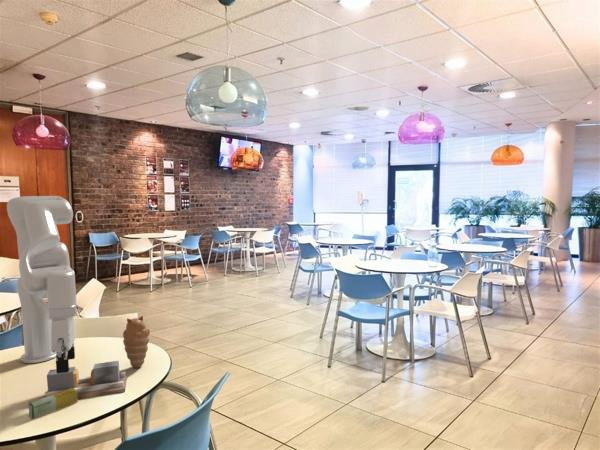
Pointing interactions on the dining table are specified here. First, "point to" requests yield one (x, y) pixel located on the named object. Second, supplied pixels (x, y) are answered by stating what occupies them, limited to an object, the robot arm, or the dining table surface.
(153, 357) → the dining table surface
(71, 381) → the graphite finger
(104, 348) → the dining table surface
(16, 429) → the dining table surface
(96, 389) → the rail mount
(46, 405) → the medication box
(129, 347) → the cat ice cream
